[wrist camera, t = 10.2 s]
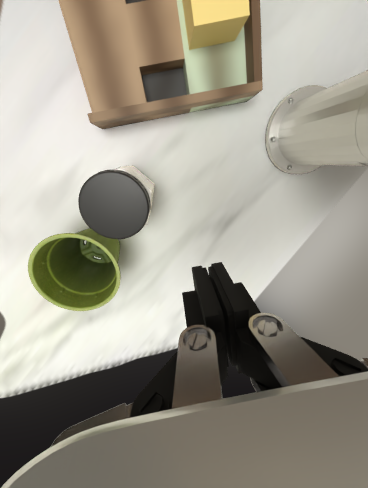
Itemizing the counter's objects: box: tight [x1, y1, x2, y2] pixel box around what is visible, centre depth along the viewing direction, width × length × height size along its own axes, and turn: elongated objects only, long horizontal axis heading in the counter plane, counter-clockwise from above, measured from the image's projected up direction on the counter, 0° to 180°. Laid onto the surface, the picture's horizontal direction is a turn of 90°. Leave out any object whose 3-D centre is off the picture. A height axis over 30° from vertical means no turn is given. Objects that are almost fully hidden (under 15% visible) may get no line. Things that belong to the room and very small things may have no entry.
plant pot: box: [28, 228, 120, 311], centre depth 33 cm, size 12×12×11 cm
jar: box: [79, 165, 155, 239], centre depth 30 cm, size 9×8×12 cm
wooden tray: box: [59, 0, 262, 129], centre depth 26 cm, size 22×17×6 cm
